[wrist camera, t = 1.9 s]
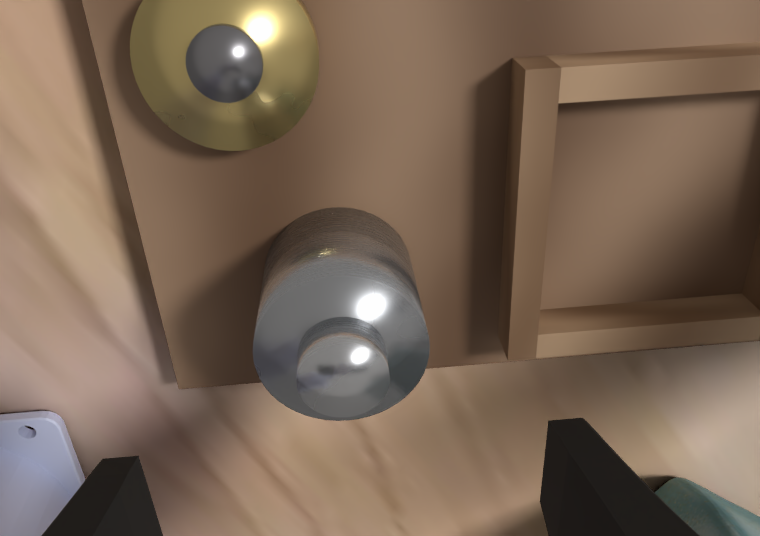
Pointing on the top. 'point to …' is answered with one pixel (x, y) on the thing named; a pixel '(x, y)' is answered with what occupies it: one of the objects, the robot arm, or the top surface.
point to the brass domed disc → (226, 68)
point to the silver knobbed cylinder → (339, 317)
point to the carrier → (478, 176)
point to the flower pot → (707, 510)
